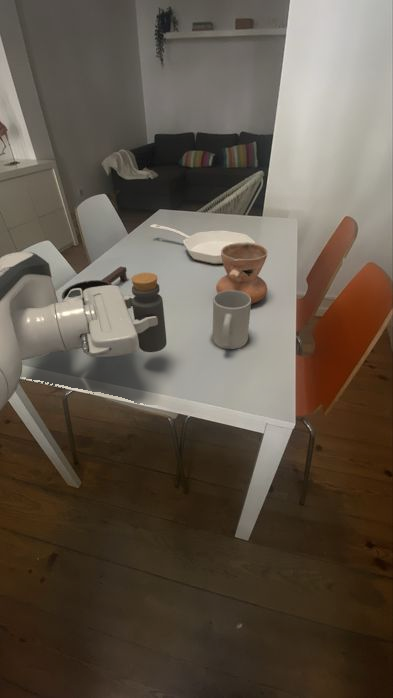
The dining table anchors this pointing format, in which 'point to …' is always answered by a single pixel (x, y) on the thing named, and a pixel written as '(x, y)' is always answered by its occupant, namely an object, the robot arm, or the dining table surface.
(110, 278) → the dark brown rectangular block
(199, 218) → the dining table surface
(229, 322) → the mug
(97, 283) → the dark low round container
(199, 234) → the pan
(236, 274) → the ceramic jug
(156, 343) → the bottle
